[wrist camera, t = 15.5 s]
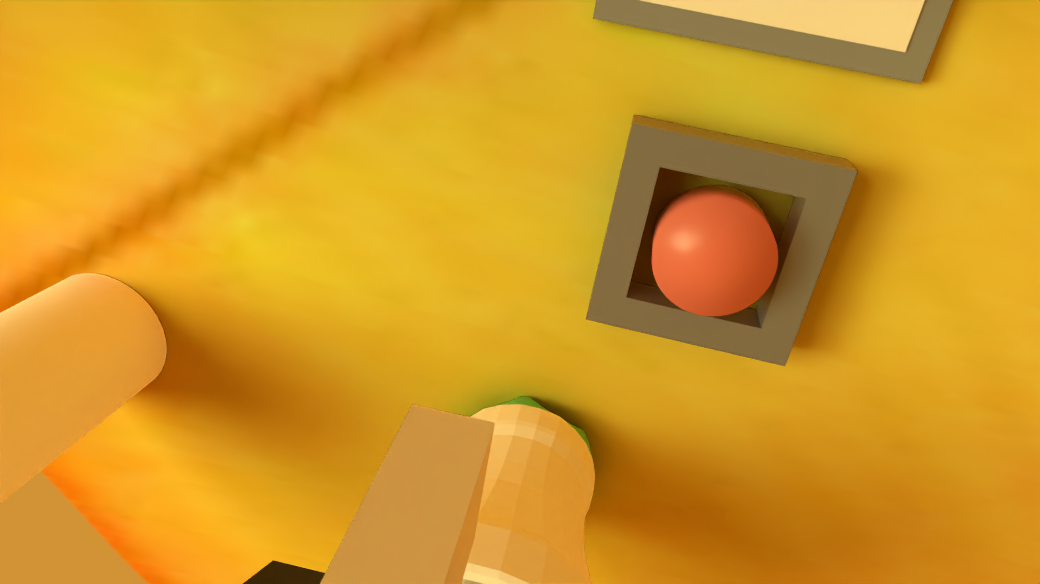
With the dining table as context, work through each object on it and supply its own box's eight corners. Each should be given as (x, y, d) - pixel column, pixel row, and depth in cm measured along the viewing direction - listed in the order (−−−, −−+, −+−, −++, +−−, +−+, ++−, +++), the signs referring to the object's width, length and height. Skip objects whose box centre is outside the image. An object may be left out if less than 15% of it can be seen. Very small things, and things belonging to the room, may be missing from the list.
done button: (640, 279, 34) (638, 301, 32) (668, 173, 32) (668, 189, 30) (750, 304, 34) (756, 328, 32) (785, 198, 32) (795, 216, 29)
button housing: (589, 301, 36) (586, 319, 34) (634, 114, 32) (632, 123, 30) (778, 345, 35) (785, 366, 33) (846, 159, 31) (857, 170, 30)
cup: (385, 405, 40) (254, 609, 27) (568, 327, 37) (516, 521, 24) (488, 560, 43) (414, 809, 30) (666, 503, 40) (668, 759, 27)
